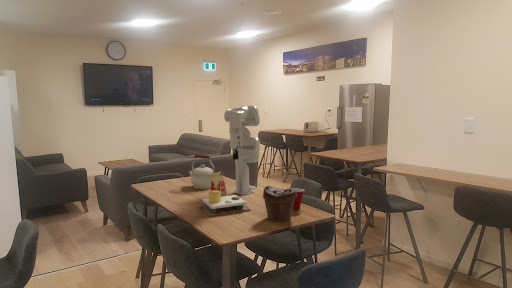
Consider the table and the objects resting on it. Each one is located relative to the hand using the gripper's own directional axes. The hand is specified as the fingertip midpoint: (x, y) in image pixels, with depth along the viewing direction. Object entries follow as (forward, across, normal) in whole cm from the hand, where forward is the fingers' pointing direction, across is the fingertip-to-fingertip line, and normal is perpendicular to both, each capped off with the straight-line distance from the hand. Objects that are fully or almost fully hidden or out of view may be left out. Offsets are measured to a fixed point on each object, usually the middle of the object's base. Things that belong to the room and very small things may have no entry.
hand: (235, 159), depth 230 cm
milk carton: (+29, +10, +9) cm, 32 cm away
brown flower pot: (+28, -40, -10) cm, 50 cm away
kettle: (+30, +53, +7) cm, 61 cm away
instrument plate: (+24, -10, +12) cm, 29 cm away
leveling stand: (+28, -10, +12) cm, 32 cm away
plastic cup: (+29, -27, -28) cm, 49 cm away
